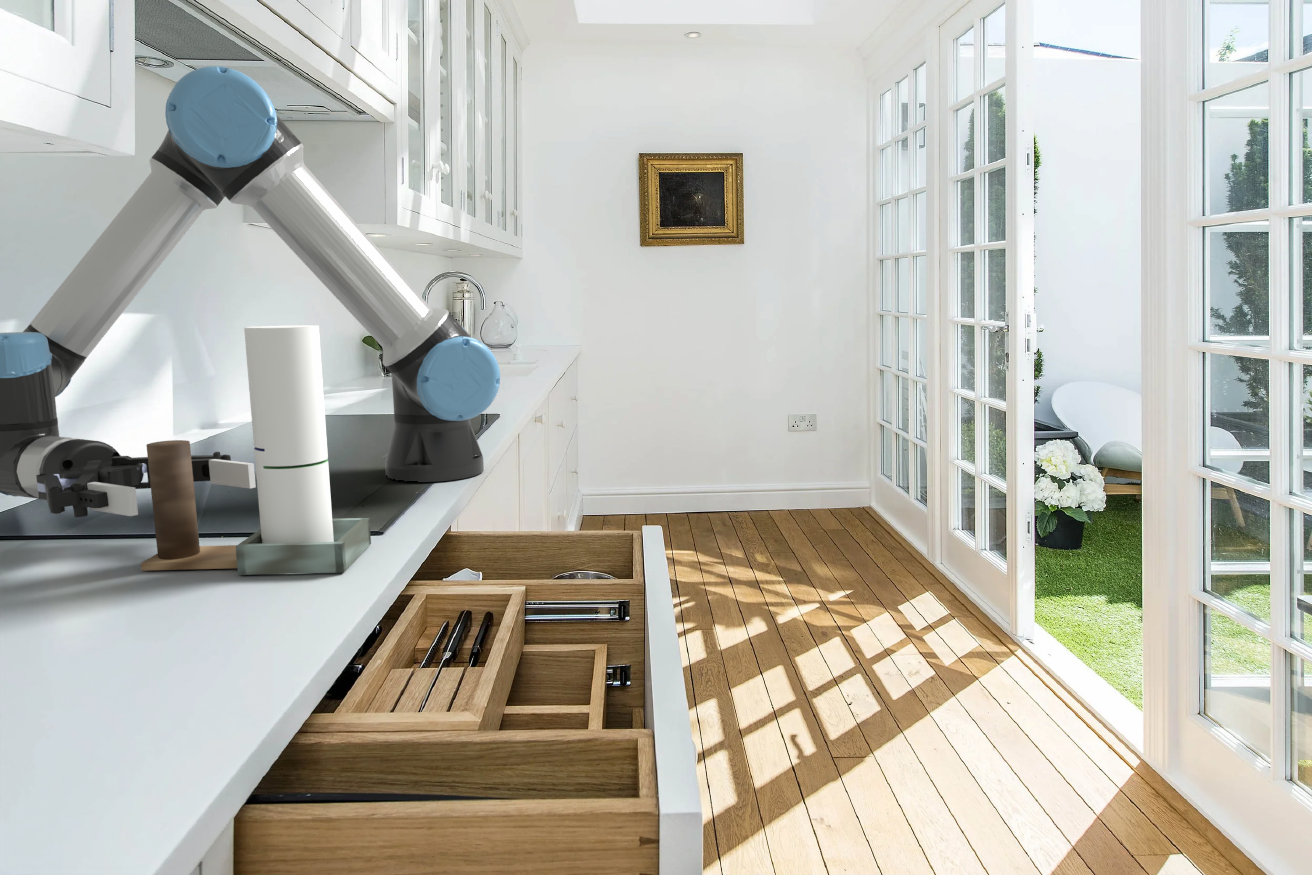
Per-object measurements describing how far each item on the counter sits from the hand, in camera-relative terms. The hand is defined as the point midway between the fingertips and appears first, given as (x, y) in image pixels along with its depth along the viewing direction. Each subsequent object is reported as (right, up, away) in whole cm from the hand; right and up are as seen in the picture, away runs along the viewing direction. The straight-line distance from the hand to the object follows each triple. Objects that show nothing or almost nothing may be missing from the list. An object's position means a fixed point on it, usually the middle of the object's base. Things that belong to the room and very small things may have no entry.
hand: (196, 488), depth 93 cm
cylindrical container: (+9, -8, +4) cm, 13 cm away
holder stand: (+5, -8, +3) cm, 10 cm away
